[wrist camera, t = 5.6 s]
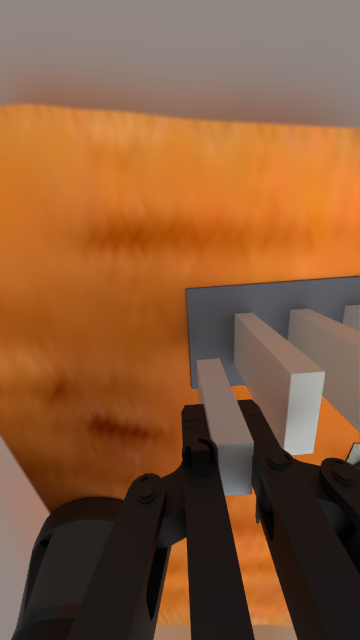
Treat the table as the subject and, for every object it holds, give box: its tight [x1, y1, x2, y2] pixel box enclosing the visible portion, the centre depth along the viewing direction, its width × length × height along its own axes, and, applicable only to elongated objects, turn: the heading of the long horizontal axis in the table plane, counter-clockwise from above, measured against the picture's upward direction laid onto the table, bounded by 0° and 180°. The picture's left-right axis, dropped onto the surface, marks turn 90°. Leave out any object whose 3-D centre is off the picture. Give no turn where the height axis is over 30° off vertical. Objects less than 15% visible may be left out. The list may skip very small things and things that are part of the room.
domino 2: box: [287, 308, 360, 432], centre depth 16 cm, size 2×5×10 cm, turn 4°
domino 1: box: [234, 313, 325, 455], centre depth 16 cm, size 2×5×10 cm, turn 4°
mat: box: [186, 276, 360, 389], centre depth 21 cm, size 32×10×1 cm, turn 94°
